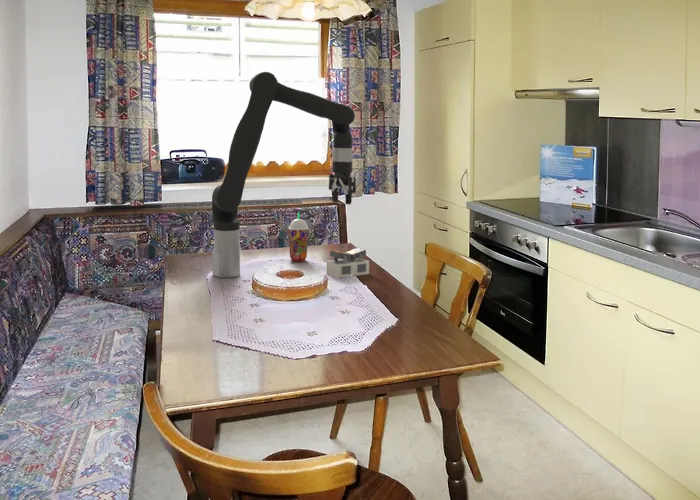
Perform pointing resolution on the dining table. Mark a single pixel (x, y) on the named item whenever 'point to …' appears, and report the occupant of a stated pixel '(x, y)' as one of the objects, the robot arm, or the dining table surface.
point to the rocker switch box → (347, 267)
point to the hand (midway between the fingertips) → (341, 202)
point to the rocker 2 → (356, 253)
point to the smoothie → (298, 240)
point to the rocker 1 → (339, 254)
